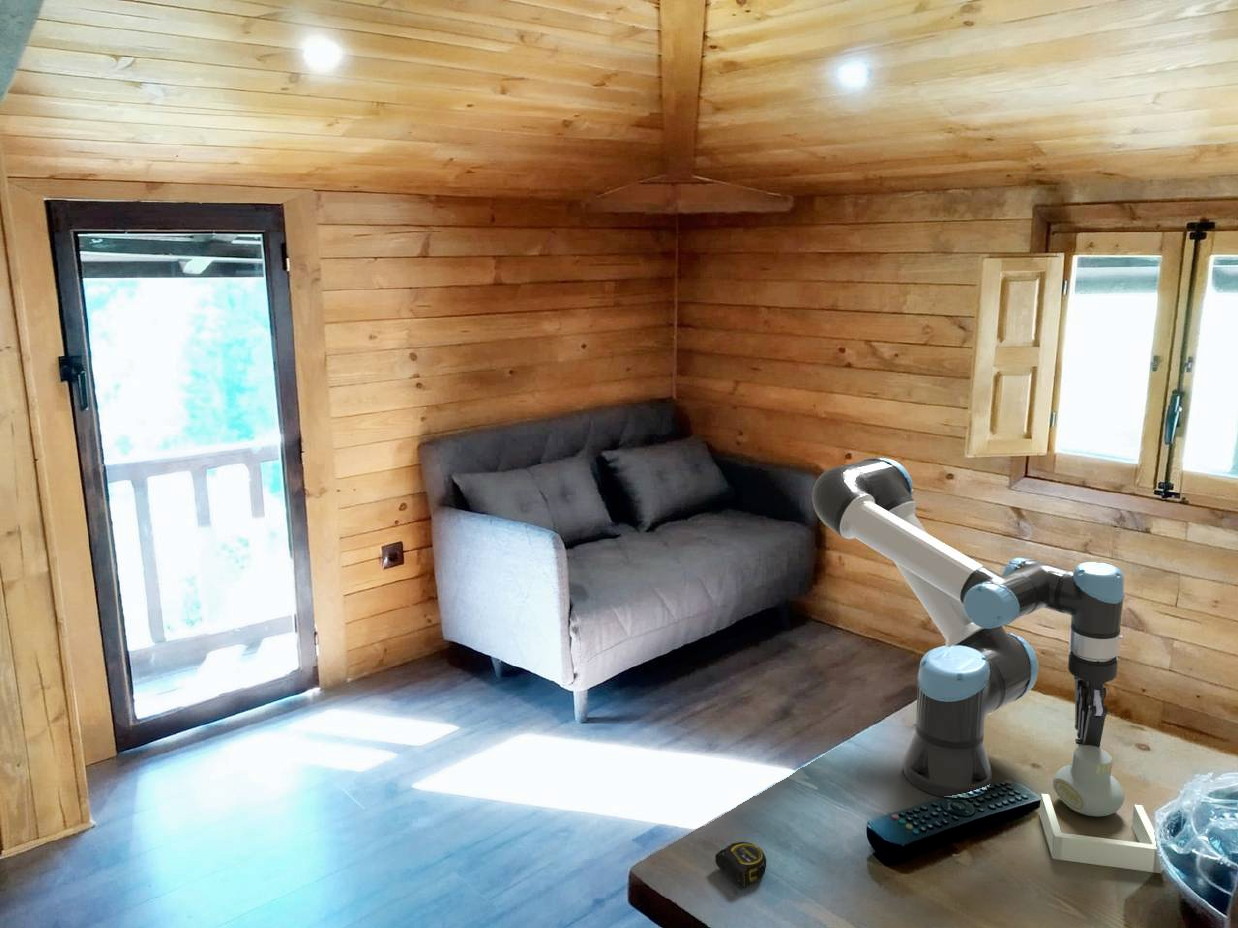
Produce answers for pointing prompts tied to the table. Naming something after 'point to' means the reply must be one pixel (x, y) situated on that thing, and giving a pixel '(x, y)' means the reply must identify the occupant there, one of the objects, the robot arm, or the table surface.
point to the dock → (1102, 843)
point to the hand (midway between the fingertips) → (1084, 774)
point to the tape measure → (742, 862)
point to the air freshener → (1089, 783)
